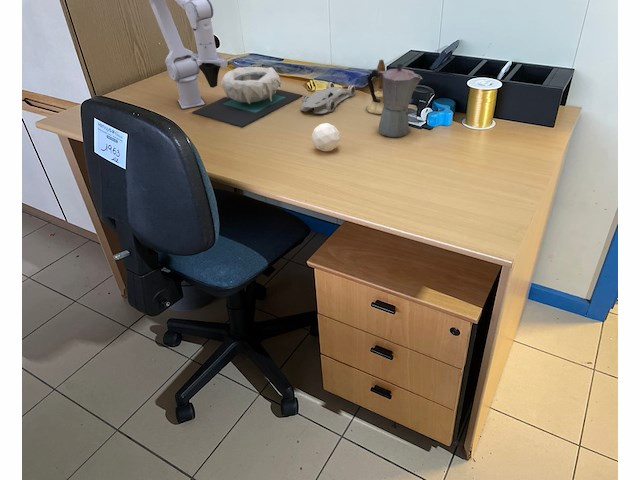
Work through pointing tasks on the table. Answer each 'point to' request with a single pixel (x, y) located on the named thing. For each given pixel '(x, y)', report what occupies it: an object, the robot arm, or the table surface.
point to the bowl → (251, 84)
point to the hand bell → (378, 93)
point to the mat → (245, 108)
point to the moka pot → (394, 99)
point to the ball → (325, 137)
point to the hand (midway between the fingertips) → (213, 86)
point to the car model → (326, 99)
